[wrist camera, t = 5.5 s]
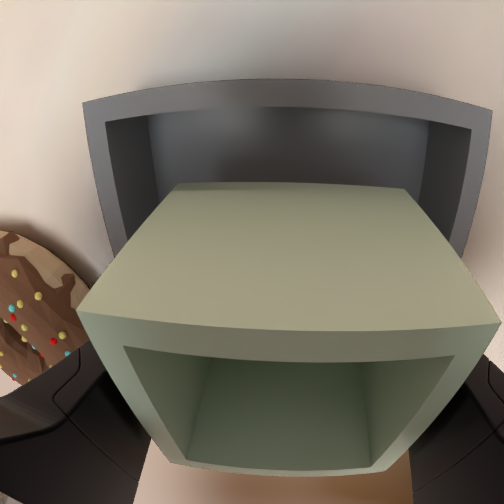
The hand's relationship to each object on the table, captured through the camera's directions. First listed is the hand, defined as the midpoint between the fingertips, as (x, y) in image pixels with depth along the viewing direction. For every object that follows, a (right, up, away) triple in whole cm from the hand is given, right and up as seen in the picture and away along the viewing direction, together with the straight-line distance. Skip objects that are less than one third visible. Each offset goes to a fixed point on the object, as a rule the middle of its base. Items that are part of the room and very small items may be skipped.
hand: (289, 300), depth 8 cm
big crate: (0, +2, +4) cm, 5 cm away
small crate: (0, +1, +1) cm, 1 cm away
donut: (-15, -2, +9) cm, 18 cm away
